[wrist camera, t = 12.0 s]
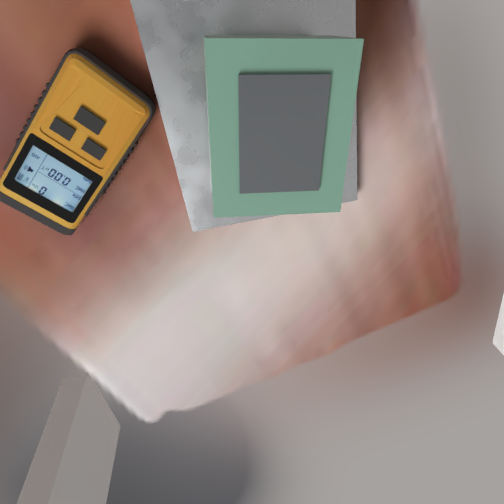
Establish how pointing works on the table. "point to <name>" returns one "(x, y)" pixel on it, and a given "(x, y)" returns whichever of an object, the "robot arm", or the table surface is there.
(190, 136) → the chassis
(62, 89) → the electronic device
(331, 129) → the block
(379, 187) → the table surface
